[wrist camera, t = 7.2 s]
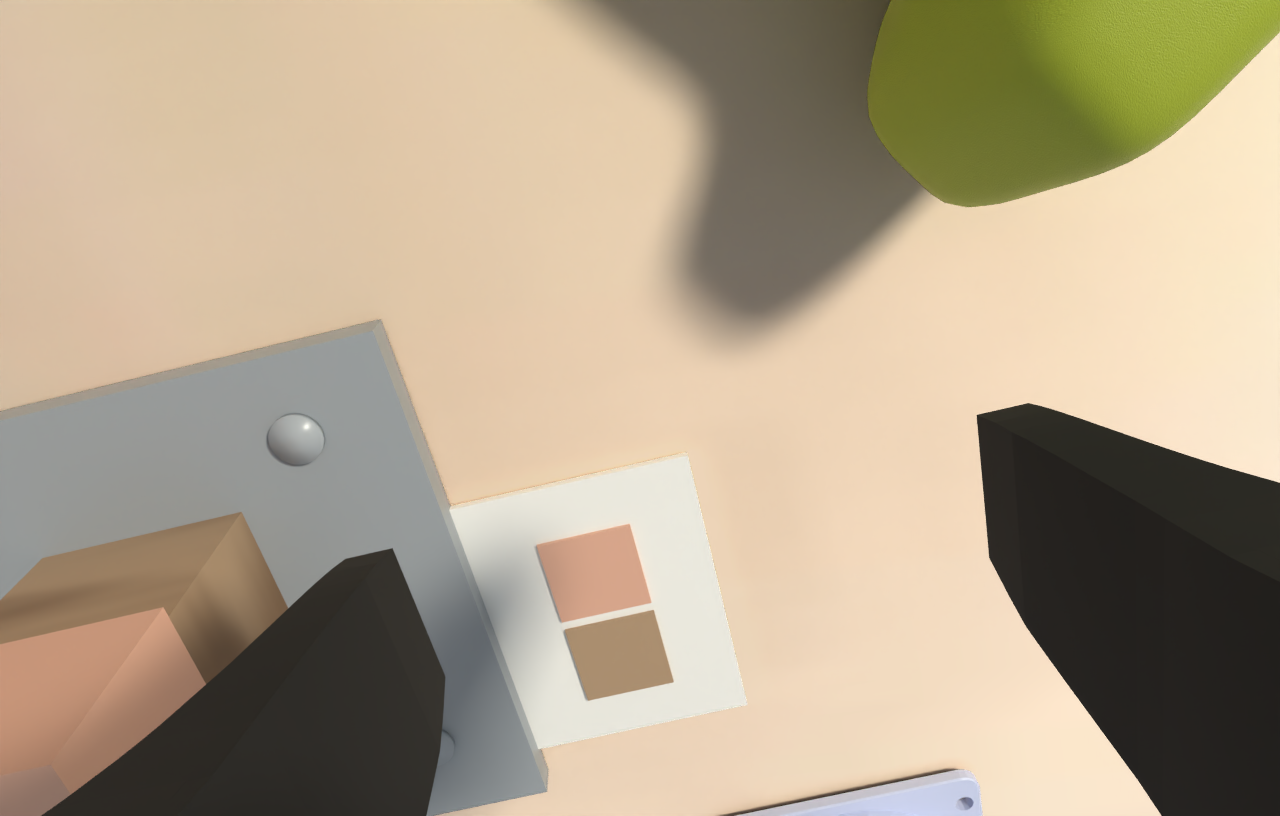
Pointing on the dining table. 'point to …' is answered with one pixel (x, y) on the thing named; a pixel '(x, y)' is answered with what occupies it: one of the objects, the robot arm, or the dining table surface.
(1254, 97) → the dining table surface
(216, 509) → the build plate
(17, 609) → the walnut block
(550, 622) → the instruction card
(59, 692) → the terracotta block
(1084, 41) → the dumbbell
